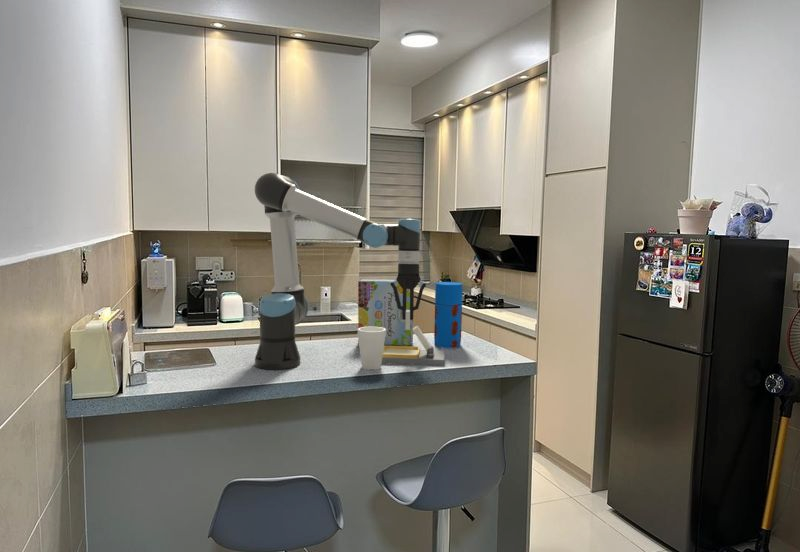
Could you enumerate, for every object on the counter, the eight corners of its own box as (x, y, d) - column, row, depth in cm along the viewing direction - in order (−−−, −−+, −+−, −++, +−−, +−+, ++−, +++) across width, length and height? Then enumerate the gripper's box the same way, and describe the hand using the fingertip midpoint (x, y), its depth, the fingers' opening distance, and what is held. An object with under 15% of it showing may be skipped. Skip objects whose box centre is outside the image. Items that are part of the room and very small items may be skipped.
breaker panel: (369, 362, 187) (369, 353, 187) (374, 353, 201) (374, 344, 201) (444, 365, 185) (444, 356, 185) (443, 355, 199) (444, 347, 199)
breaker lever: (429, 356, 190) (411, 330, 190) (429, 353, 195) (412, 328, 194) (434, 352, 190) (417, 327, 189) (434, 349, 195) (418, 324, 194)
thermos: (430, 342, 221) (431, 282, 218) (454, 341, 224) (456, 281, 221) (440, 348, 210) (441, 285, 208) (465, 347, 213) (467, 284, 211)
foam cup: (381, 371, 176) (382, 332, 175) (354, 369, 178) (354, 331, 177) (387, 364, 185) (388, 327, 184) (361, 362, 187) (362, 325, 186)
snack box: (413, 342, 222) (414, 279, 219) (410, 346, 213) (412, 282, 210) (361, 339, 225) (362, 278, 222) (357, 344, 216) (357, 280, 214)
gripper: (389, 263, 187) (388, 330, 189) (427, 263, 186) (425, 331, 188) (391, 261, 194) (390, 326, 196) (427, 262, 193) (426, 327, 195)
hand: (407, 328), depth 192 cm, fingers closed
